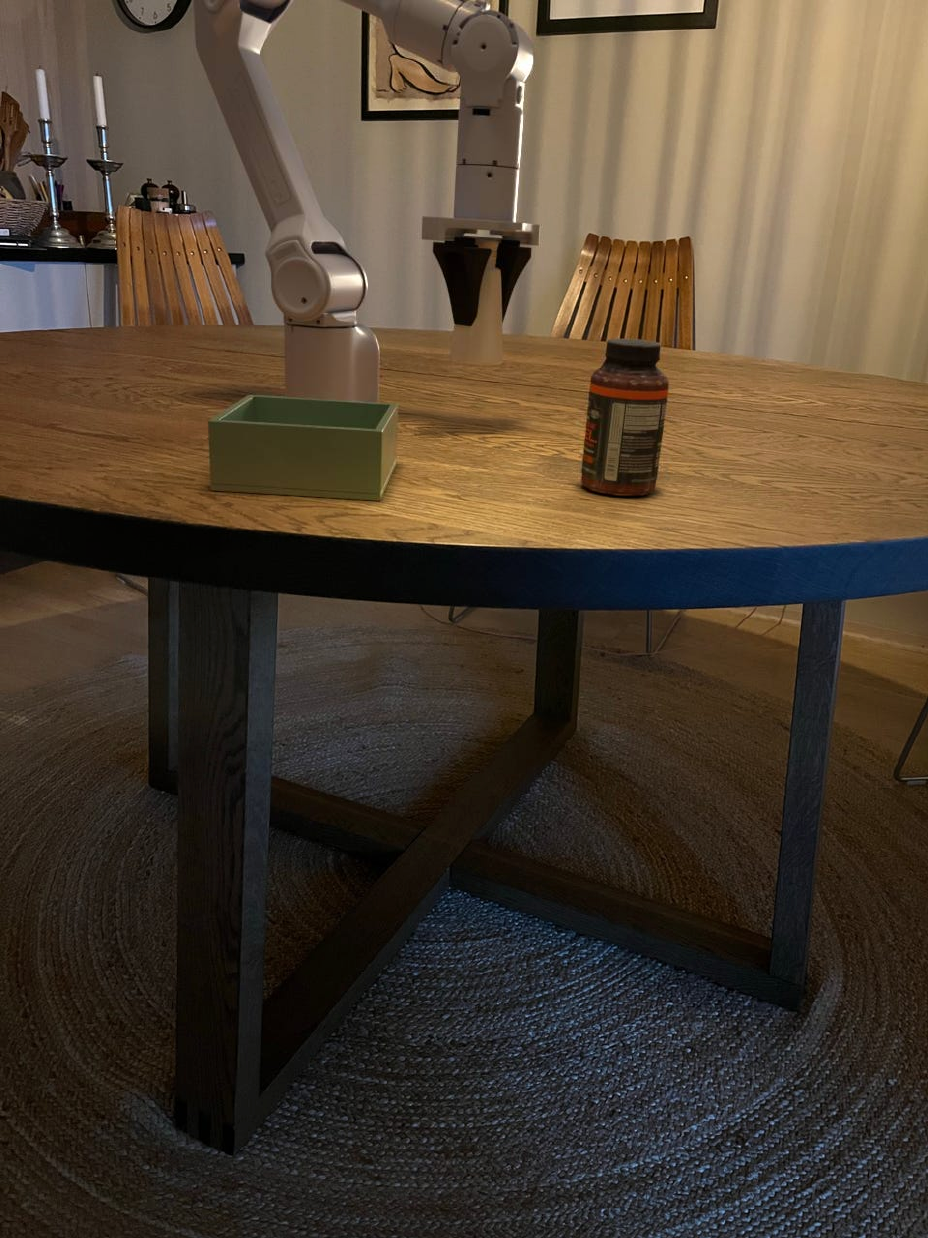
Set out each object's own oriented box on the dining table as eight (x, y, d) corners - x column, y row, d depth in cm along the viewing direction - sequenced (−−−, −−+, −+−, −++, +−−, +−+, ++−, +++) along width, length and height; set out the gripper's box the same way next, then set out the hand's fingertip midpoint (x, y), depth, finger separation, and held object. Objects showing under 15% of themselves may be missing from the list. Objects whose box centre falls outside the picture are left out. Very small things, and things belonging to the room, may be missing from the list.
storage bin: (249, 455, 83) (248, 394, 81) (396, 464, 82) (398, 403, 81) (210, 490, 71) (207, 420, 69) (380, 501, 71) (382, 430, 69)
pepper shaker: (510, 361, 98) (519, 241, 94) (494, 366, 93) (503, 240, 89) (458, 355, 99) (465, 237, 95) (440, 361, 94) (446, 236, 90)
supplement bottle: (573, 478, 81) (587, 334, 77) (644, 481, 82) (662, 338, 78) (587, 497, 76) (603, 343, 71) (664, 499, 76) (684, 347, 72)
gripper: (468, 160, 82) (458, 331, 87) (570, 174, 93) (557, 326, 97) (407, 160, 86) (401, 322, 91) (511, 174, 97) (501, 319, 102)
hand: (478, 324), depth 95 cm, fingers closed on pepper shaker, 3 cm apart
